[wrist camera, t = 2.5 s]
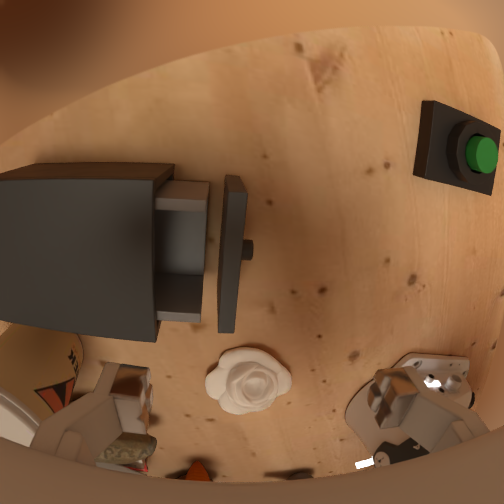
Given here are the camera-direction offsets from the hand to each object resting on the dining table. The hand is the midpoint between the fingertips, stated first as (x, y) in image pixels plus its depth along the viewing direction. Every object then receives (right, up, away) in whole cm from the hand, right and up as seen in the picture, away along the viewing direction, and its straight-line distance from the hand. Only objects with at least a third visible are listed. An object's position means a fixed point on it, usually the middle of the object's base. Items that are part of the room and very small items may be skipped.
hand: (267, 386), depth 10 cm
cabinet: (-15, +7, +17) cm, 24 cm away
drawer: (-8, +7, +18) cm, 20 cm away
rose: (-1, -10, +26) cm, 28 cm away
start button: (+22, +15, +15) cm, 30 cm away
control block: (+22, +16, +18) cm, 32 cm away
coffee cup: (-25, -6, +22) cm, 34 cm away
